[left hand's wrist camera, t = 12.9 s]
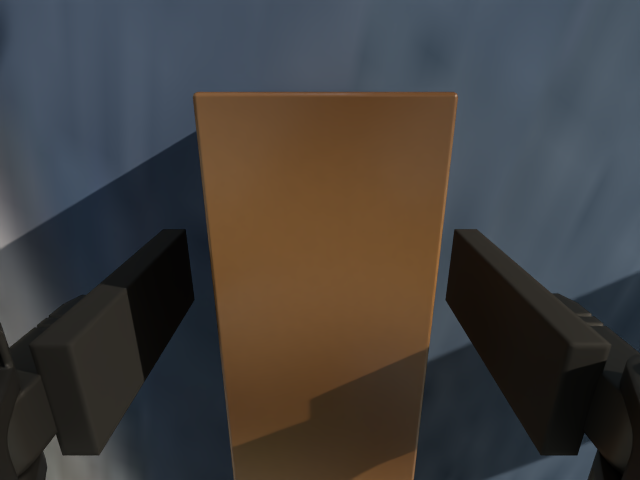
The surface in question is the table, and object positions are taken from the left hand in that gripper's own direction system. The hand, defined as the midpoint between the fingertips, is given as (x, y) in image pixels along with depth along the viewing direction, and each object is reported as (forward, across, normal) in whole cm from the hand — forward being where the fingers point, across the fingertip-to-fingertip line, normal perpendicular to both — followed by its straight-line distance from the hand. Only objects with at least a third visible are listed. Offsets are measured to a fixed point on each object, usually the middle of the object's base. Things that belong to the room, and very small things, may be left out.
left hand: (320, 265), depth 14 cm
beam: (+3, 0, -21) cm, 21 cm away
